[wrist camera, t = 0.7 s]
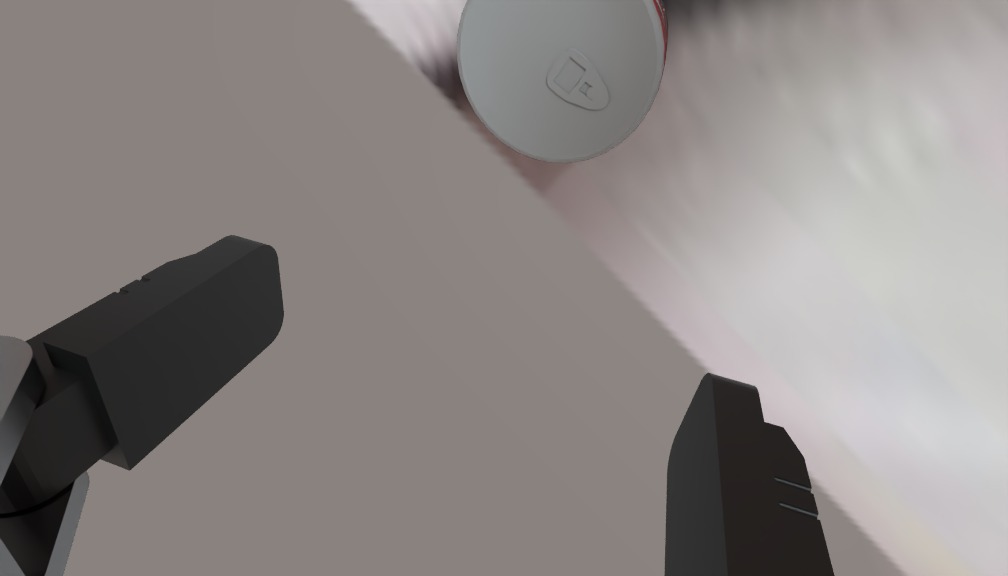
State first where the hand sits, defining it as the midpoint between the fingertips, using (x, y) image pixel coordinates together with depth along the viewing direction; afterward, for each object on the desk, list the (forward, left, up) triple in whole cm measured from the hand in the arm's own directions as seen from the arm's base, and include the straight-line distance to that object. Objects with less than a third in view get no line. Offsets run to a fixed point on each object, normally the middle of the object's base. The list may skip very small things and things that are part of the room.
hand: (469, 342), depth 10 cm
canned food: (-1, -3, -25) cm, 25 cm away
